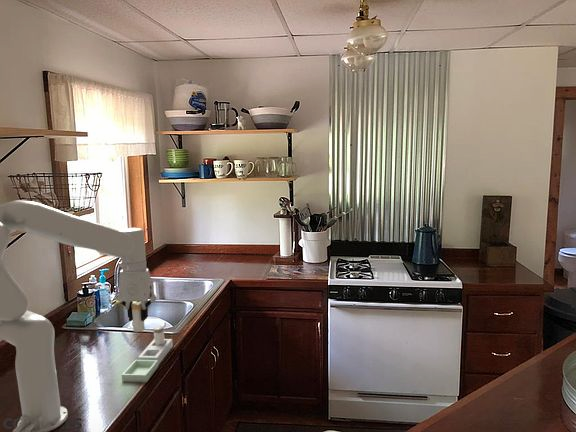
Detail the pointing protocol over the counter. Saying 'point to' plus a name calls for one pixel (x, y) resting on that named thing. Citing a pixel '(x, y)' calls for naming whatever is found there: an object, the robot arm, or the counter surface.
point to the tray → (140, 371)
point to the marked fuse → (137, 317)
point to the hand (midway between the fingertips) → (138, 319)
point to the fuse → (159, 336)
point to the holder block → (156, 351)
